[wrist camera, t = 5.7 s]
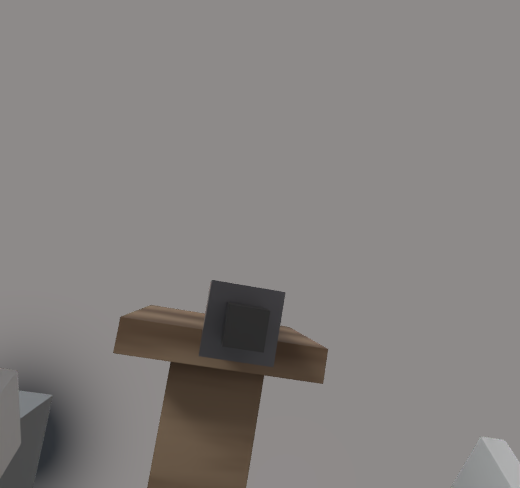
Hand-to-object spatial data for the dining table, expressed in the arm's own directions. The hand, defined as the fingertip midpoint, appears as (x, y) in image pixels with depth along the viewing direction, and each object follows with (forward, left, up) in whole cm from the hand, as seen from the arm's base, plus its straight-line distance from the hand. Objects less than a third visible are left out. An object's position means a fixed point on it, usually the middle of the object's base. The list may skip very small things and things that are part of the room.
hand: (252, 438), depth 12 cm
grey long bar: (-11, +9, +2) cm, 14 cm away
